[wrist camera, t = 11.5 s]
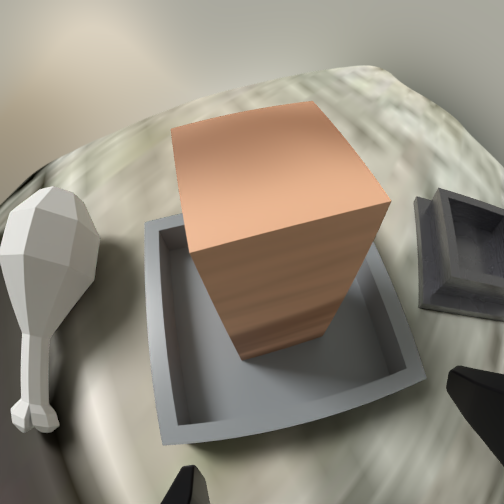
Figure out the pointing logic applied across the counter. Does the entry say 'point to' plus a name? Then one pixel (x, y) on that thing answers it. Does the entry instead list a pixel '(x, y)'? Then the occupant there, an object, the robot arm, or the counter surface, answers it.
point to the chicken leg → (45, 286)
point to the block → (275, 220)
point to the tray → (268, 365)
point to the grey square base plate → (460, 255)
